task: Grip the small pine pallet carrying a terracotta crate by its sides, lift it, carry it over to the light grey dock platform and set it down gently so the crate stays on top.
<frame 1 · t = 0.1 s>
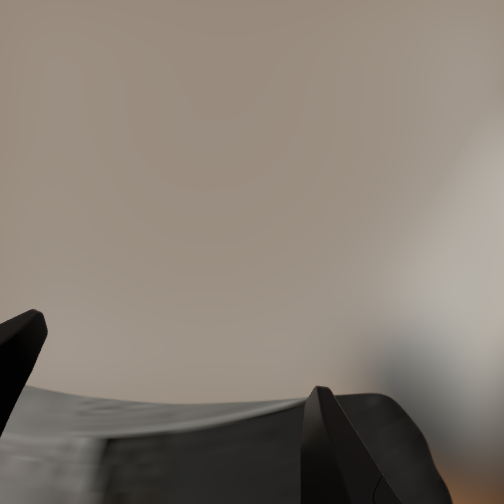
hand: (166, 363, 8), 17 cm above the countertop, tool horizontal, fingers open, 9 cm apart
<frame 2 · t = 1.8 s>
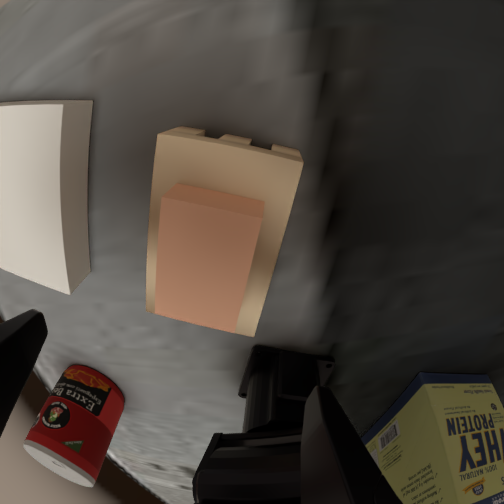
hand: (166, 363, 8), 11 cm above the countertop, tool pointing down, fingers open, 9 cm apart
dock: (34, 184, 17), on the countertop
protein box: (417, 415, 27), on the countertop
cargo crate: (209, 250, 15), point 3 cm above the countertop, touching pallet
canned food: (95, 386, 28), on the countertop
pallet: (222, 220, 18), on the countertop, touching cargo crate
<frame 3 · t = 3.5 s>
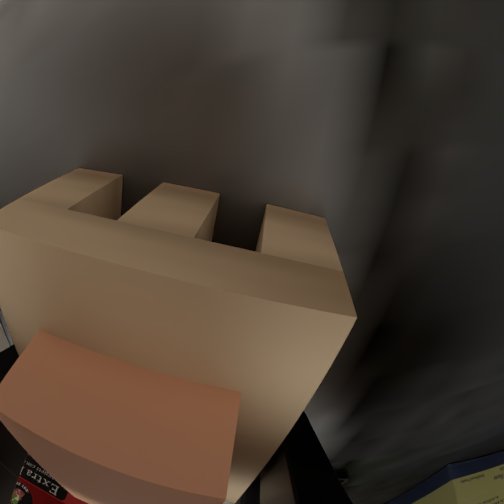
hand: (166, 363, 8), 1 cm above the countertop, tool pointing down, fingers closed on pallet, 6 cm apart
protein box: (435, 488, 18), on the countertop
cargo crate: (140, 435, 6), point 4 cm above the countertop, touching pallet
canned food: (63, 456, 20), on the countertop
pallet: (175, 339, 9), on the countertop, touching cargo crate, gripper
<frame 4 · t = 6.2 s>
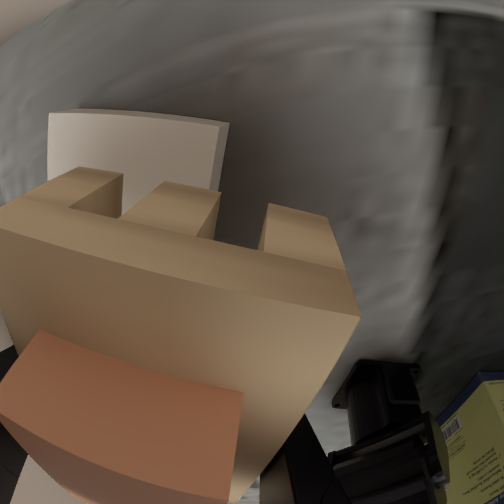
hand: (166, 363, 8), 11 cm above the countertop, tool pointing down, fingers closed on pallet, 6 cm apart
dock: (137, 206, 18), on the countertop
protein box: (467, 410, 27), on the countertop
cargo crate: (140, 435, 6), point 14 cm above the countertop, touching pallet
pallet: (175, 339, 9), point 10 cm above the countertop, touching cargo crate, gripper
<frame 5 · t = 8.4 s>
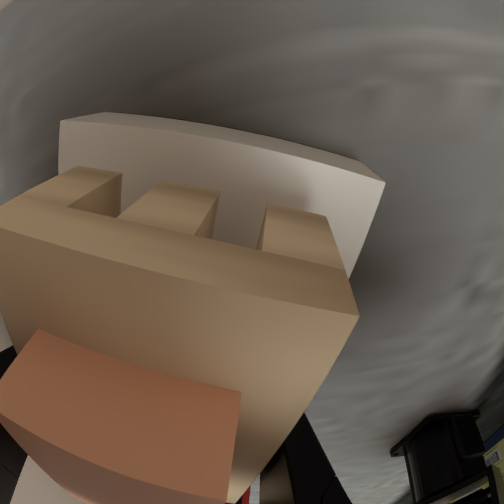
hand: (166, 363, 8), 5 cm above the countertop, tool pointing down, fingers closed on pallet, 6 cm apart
dock: (201, 268, 13), on the countertop
protein box: (501, 438, 23), on the countertop
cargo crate: (139, 435, 6), point 8 cm above the countertop, touching pallet
pallet: (174, 339, 9), point 4 cm above the countertop, touching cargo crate, gripper
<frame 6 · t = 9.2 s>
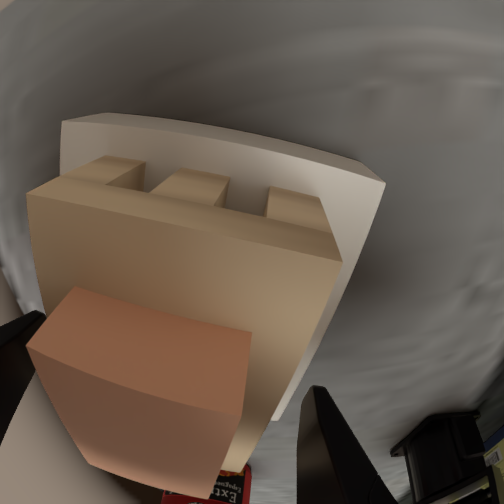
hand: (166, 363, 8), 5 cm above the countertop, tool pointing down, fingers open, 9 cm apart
dock: (202, 268, 13), on the countertop
protein box: (501, 438, 23), on the countertop
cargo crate: (157, 391, 7), point 7 cm above the countertop, touching pallet
canned food: (212, 464, 24), on the countertop
pallet: (186, 311, 11), point 3 cm above the countertop, touching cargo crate, dock
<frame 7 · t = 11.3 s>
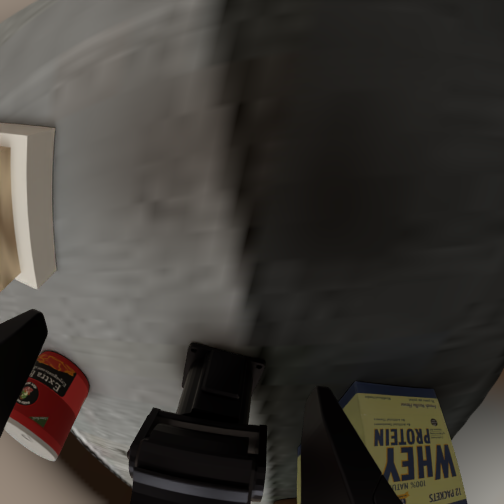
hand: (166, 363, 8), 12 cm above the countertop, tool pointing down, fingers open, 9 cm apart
dock: (12, 194, 19), on the countertop
olive oil: (296, 502, 47), on the countertop
protein box: (361, 422, 29), on the countertop
canned food: (65, 371, 30), on the countertop
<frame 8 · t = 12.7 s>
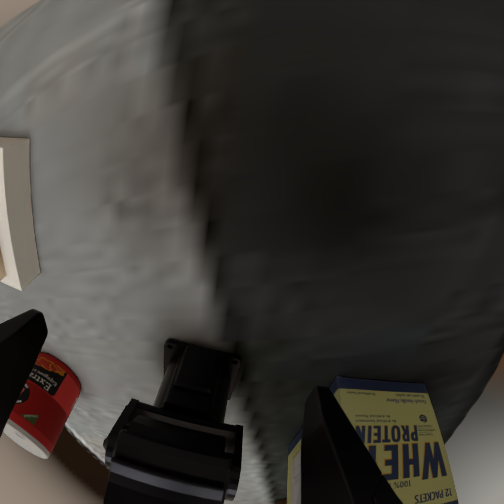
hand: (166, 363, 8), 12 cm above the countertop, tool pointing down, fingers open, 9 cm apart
olive oil: (298, 501, 46), on the countertop
protein box: (351, 418, 29), on the countertop
canned food: (58, 372, 31), on the countertop
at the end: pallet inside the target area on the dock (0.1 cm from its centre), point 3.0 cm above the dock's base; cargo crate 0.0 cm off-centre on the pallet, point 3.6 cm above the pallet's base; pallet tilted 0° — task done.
